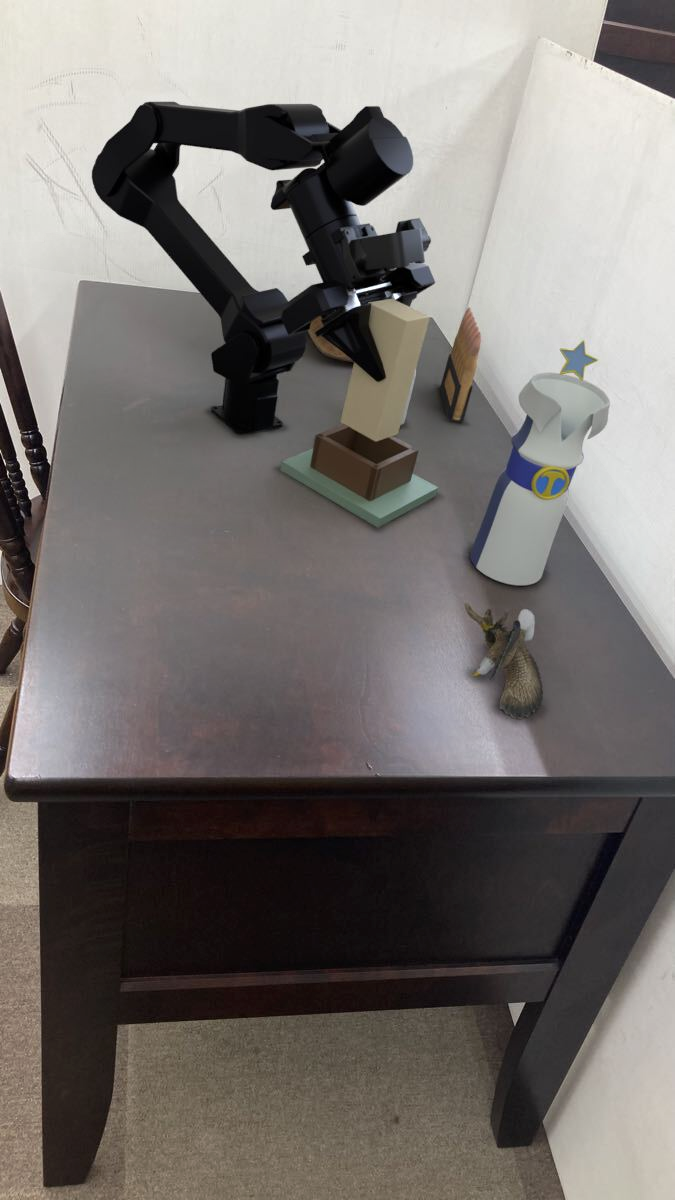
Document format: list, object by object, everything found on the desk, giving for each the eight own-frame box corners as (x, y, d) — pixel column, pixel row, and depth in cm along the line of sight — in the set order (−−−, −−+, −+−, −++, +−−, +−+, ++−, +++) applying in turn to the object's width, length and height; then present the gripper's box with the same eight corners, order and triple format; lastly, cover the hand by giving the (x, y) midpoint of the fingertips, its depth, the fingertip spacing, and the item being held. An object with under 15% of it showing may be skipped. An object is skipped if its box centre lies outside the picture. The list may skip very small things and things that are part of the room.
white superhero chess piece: (558, 592, 89) (655, 354, 75) (476, 582, 88) (560, 338, 74) (537, 547, 96) (623, 321, 82) (461, 537, 95) (535, 305, 80)
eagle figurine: (433, 636, 79) (469, 693, 71) (488, 576, 77) (531, 628, 69) (490, 675, 82) (530, 734, 74) (544, 619, 80) (590, 673, 73)
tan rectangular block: (340, 421, 95) (367, 302, 88) (363, 414, 98) (391, 298, 91) (375, 442, 93) (407, 321, 86) (398, 434, 96) (430, 316, 89)
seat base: (279, 470, 99) (286, 428, 96) (341, 444, 107) (349, 404, 104) (377, 528, 93) (388, 485, 90) (435, 496, 101) (447, 456, 98)
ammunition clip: (462, 423, 117) (487, 336, 110) (449, 421, 117) (473, 333, 110) (452, 389, 126) (475, 306, 119) (440, 387, 126) (461, 303, 118)
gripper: (324, 194, 77) (397, 363, 79) (442, 181, 90) (502, 327, 92) (248, 256, 85) (316, 407, 87) (366, 236, 98) (423, 369, 100)
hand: (394, 375), depth 91 cm, fingers closed on tan rectangular block, 4 cm apart
